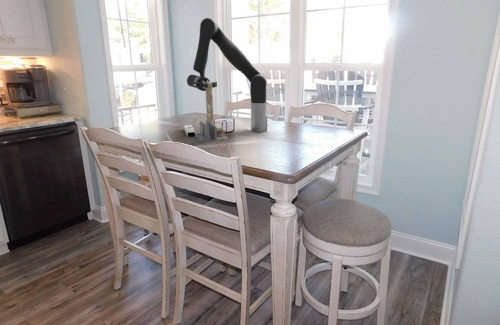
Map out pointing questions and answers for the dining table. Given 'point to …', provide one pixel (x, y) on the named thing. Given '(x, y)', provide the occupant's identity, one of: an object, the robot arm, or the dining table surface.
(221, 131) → the offcut
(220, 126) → the offcut
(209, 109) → the brown wooden board
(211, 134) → the rack
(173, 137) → the dining table surface
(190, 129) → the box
